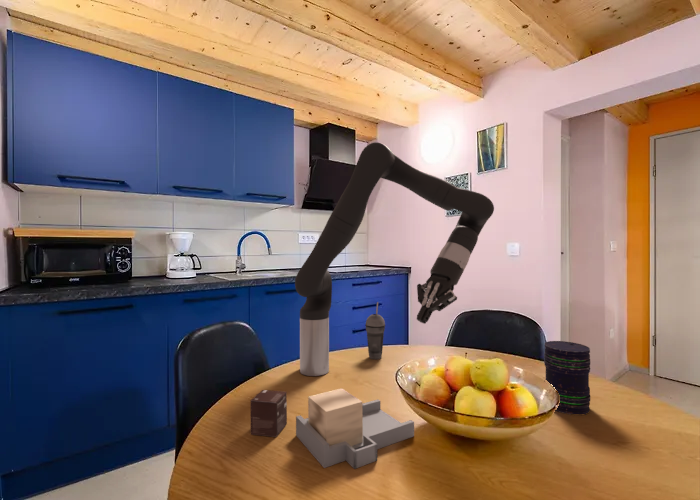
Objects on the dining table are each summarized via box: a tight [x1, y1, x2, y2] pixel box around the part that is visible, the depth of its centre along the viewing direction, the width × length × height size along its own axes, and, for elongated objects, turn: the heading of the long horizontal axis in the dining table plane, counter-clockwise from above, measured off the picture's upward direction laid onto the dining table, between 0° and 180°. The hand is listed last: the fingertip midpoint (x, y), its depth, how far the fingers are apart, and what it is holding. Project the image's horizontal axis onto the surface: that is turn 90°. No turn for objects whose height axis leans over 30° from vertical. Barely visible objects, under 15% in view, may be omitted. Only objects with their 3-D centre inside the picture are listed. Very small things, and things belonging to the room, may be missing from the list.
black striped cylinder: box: [543, 340, 591, 415], centre depth 89 cm, size 10×10×15 cm
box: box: [250, 389, 288, 438], centre depth 78 cm, size 6×6×7 cm
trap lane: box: [295, 399, 415, 470], centre depth 75 cm, size 19×21×4 cm
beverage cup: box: [364, 301, 386, 360], centre depth 129 cm, size 7×7×20 cm
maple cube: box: [307, 387, 363, 446], centre depth 72 cm, size 8×8×8 cm
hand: (420, 321), depth 91 cm, fingers closed
